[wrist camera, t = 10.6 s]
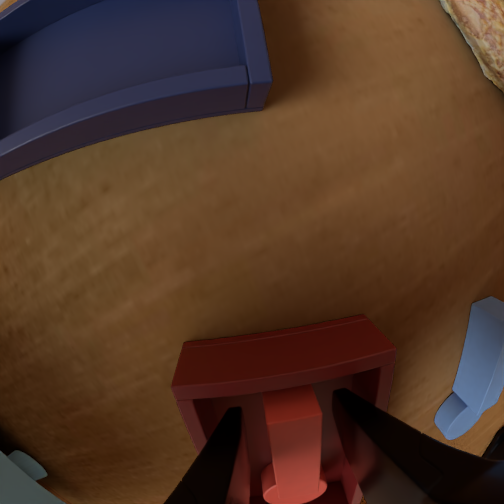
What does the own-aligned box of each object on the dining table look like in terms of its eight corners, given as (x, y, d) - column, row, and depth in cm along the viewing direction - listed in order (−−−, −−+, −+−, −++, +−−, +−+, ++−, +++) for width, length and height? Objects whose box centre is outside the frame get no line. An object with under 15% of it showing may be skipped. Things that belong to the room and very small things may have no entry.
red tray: (346, 476, 11) (358, 508, 9) (235, 495, 11) (236, 530, 9) (363, 313, 9) (397, 347, 7) (183, 341, 9) (170, 386, 7)
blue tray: (238, -30, 6) (240, -73, 4) (262, 111, 8) (273, 81, 5) (-2, 55, 6) (-35, 40, 4) (-10, 185, 7) (-53, 189, 5)
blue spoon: (464, 413, 11) (485, 436, 9) (428, 432, 11) (448, 459, 9) (498, 292, 9) (533, 309, 7) (461, 306, 9) (498, 329, 7)
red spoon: (320, 478, 11) (330, 514, 8) (263, 488, 10) (268, 526, 8) (323, 361, 9) (346, 407, 7) (239, 375, 9) (240, 427, 6)
